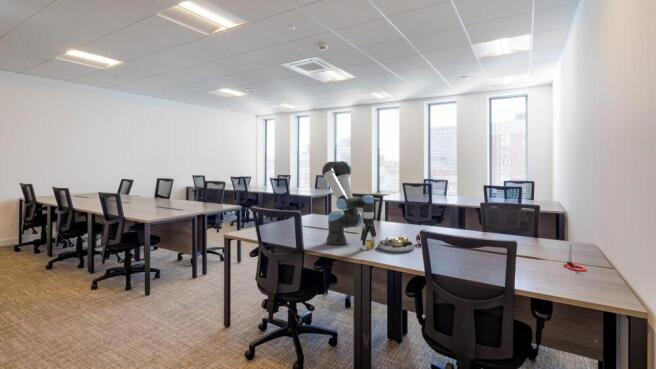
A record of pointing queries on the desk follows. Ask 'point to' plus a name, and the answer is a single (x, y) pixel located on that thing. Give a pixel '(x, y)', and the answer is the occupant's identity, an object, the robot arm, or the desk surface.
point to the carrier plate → (396, 245)
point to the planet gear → (370, 244)
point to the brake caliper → (418, 239)
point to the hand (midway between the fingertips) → (368, 247)
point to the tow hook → (568, 263)
